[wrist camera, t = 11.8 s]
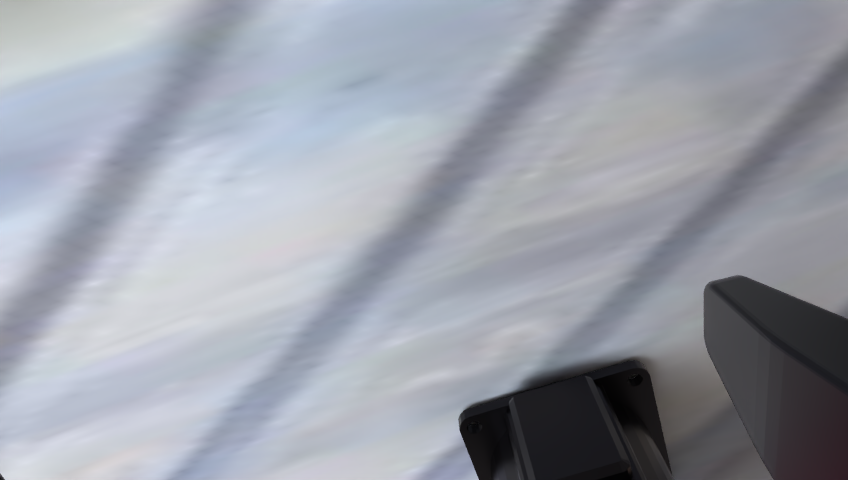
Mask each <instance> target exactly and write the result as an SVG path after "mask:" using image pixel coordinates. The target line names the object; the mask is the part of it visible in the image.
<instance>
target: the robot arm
mask: <svg viewBox="0 0 848 480" xmlns="http://www.w3.org/2000/svg"><path fill="white" fill-rule="evenodd" d="M704 339H705V344H706V348H707V351H708V353H709V355H710V358H711V360H712V362H713V364H714V366H715V368H716V370H717V372H718V374H719V376H720V378H721V380H722V382H723V384H724V386H725V388H726V390H727V392H728V394H729V396H730V398H731V400H732V402H733V404H734V406H735V408H736V410H737V412H738V414H739V416H740V418H741V420H742V422H743V424H744V426H745V428H746V430H747V432H748V434H749V436H750V438H751V440H752V442H753V444H754V446H755V448H756V449H757V451H758V453H759V455H760V457H761V459H762V461H763V463H764V464H765V466H766V467H767V469H768V471H769V472H770V474H771V476H772V477H773V479H774V480H848V319H847V318H845V317H842V316H840V315H837V314H835V313H832V312H830V311H827V310H825V309H823V308H820V307H818V306H815V305H813V304H810V303H808V302H806V301H803V300H801V299H798V298H796V297H793V296H791V295H789V294H786V293H784V292H781V291H779V290H776V289H774V288H771V287H769V286H767V285H764V284H762V283H759V282H757V281H754V280H752V279H750V278H747V277H744V276H739V275H738V276H732V277H728V278H723V279H719V280H715V281H711V282H709V283H708V284H707V285H706V286H705V289H704ZM633 374H638V375H637V376H636V377H635V378H633V379H628V378H629V377H630V376H631V375H633ZM458 420H459V427H460V433H461V435H462V438H463V440H464V443H465V445H466V448H467V450H468V453H469V455H470V458H471V460H472V463H473V465H474V468H475V470H476V473H477V476H478V478H479V480H674V478H673V476H672V473H671V468H670V464H669V459H668V455H667V450H666V446H665V441H664V437H663V432H662V428H661V423H660V419H659V414H658V410H657V405H656V401H655V396H654V392H653V387H652V383H651V378H650V375H649V373H648V371H647V369H646V368H645V366H644V364H642V363H641V362H640V361H635V360H633V361H627V362H624V363H620V364H617V365H613V366H610V367H607V368H603V369H600V370H597V371H593V372H590V373H587V374H583V375H580V376H577V377H573V378H570V379H567V380H563V381H560V382H557V383H553V384H550V385H546V386H543V387H540V388H536V389H533V390H530V391H526V392H523V393H520V394H516V395H513V396H510V397H506V398H503V399H500V400H496V401H493V402H490V403H486V404H483V405H480V406H476V407H473V408H469V409H467V410H465V411H463V412H462V413H461V414H460V416H459V419H458ZM471 422H479V423H478V424H477V425H472V426H471V425H468V424H469V423H471ZM0 480H5V479H4V478H3V477H2V475H1V474H0Z"/></svg>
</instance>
